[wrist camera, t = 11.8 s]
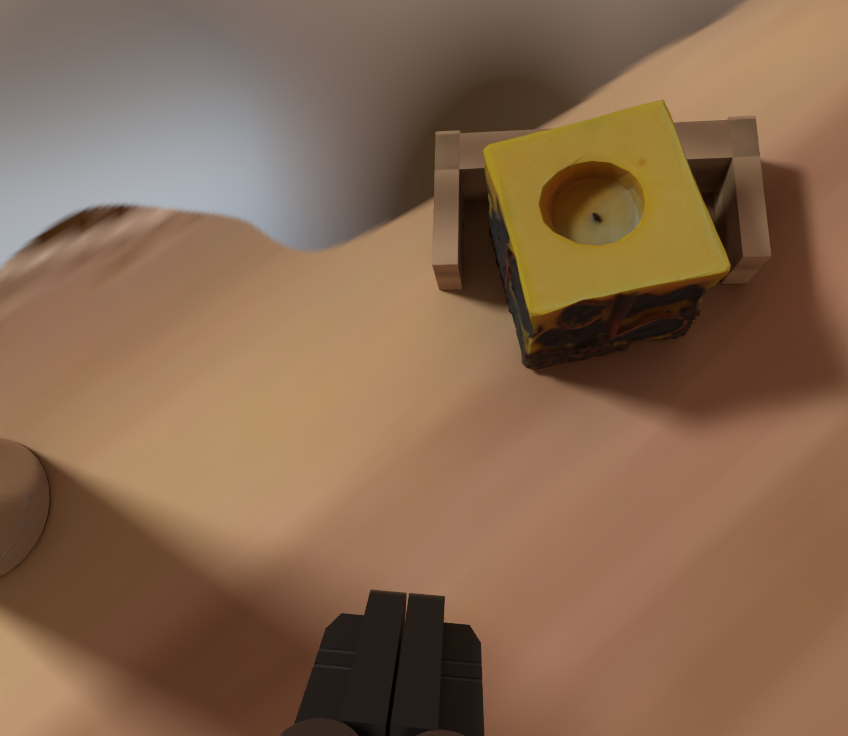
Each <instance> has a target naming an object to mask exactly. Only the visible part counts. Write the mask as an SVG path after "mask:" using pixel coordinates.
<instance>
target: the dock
mask: <svg viewBox="0 0 848 736" xmlns="http://www.w3.org/2000/svg"><path fill="white" fill-rule="evenodd" d="M674 127H675V130H676V133H677V135H678V138H679V140H680V143H681V146H682V148H683V151H684V153H685V156H686V158H687V161H688V164H689V166H690V169H691V171H692V174H693V176H694V179H695V181H696V184H697V186H698V189H699V191H700V193H703V192H713V199H714V210H715V220H716V231H717V234H718V236H719V238H720V240H721V242H722V245H723V247H724V249H725V251H726V254H727V257H728V259H729V262H730V265H731V266H730V271H729V273H728V275H727V276H725V277H724V278H722V279H721V284H743V283H748V282H749V281H750V280H751V278H752V277H753V276H754V275H755V274H756V273H757V272H758V271H759V270H760V268H761V267H762V266H763V265H764V264H765V263H766V262H767V261H768V260H769V258H770V257H771V248H770V240H769V231H768V222H767V213H766V205H765V196H764V187H763V179H762V170H761V161H760V152H759V144H758V135H757V126H756V118H755V116H738V117H728V119H727V120H718V121H698V122H678V123H674ZM545 130H550V129H538V130H520V131H519V130H518V131H498V132H478V133H460V131H442V132H436V143H435V182H434V185H435V186H434V222H433V262H432V265H433V269H434V273H435V276H436V280H437V283H438V287H439V290H453V289H462V274H463V201H488V200H489V199H488V193H489V191H488V190H487V182H486V175H485V169H484V157H483V150H484V149H485V148H486V147H487V146H488V145H489V144H492V143H496V142H500V141H504V140H508V139H512V138H516V137H520V136H525V135H528V134H531V133H535V132H539V131H545Z"/></svg>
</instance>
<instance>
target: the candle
mask: <svg viewBox="0 0 848 736" xmlns="http://www.w3.org/2000/svg"><path fill="white" fill-rule="evenodd" d="M483 157H484V169H485V175H486V182H487V190H488V191H489V193H488V199H489V206H490V211H489V216H488V218H489V220H488V223H489V224H490V225H489V235H490V237H491V238H492V244H493V247H494V251H495V253H496V263H497V266H498V269H499V270H500V278H501V279H502V282H503V287H504V292H505V294H506V299H507V304H508V306H509V312H510V313H511V314H512V316H513V321H514V324H515V327H516V333H517V337H518V340H519V344H520V348H521V352H522V363H523V364H524V365H525V367H526V368H529V369H539V368H543V367H547V366H551V365H556V364H560V363H564V362H574V361H577V360H584V359H588V358H591V357H594V356H599V355H606V354H611V353H615V352H616V351H617V349H619V350H621V351H625V350H626V349H627V348H628V345H629V344H630V343H632V342H634V341H646V340H652V339H658V340H667V339H669V338H677V337H679V336H683V335H685V333H686V332H687V331H688V329H689V328H690V327H691V326H690V324H692V320H695V317H696V316H698V315H699V312H700V306H701V301H702V298H703V297H702V296H703V295H704V294H705V292H706V291H707V290H708V288H710V287H713V286H716V285H717V283H718V282H719V280H721V279H722V278H724V277H725V276H727V275H728V273H729V271H730V266H731V265H730V262H729V259H728V257H727V254H726V251H725V249H724V247H723V245H722V242H721V240H720V238H719V236H718V234H717V231H716V229H715V226H714V224H713V221H712V219H711V216H710V214H709V212H708V209H707V207H706V205H705V203H704V201H703V199H702V196H701V194H700V191H699V189H698V186H697V184H696V181H695V179H694V176H693V174H692V171H691V169H690V166H689V164H688V161H687V158H686V156H685V153H684V151H683V148H682V146H681V143H680V140H679V138H678V135H677V133H676V130H675V127H674V123H673V120H672V117H671V115H670V112H669V110H668V108H667V106H666V104H665V102H664V100H660V101H656V102H651V103H646V104H643V105H639V106H635V107H632V108H628V109H624V110H621V111H617V112H614V113H610V114H607V115H604V116H600V117H597V118H593V119H589V120H586V121H582V122H578V123H574V124H571V125H567V126H562V127H558V128H554V129H550V130H545V131H539V132H535V133H531V134H528V135H525V136H520V137H516V138H512V139H508V140H504V141H500V142H496V143H492V144H489V145H488V146H487V147H486V148H485V149H484V150H483Z"/></svg>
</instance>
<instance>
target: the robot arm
mask: <svg viewBox="0 0 848 736" xmlns="http://www.w3.org/2000/svg"><path fill="white" fill-rule="evenodd" d="M49 500H50V497H49V484H48V481H47V477H46V474H45V471H44V469H43V467H42V465H41V464H40V462H39V460H38V459H37V458H36V457H35V455H34V454H33V453H32V452H31V451H30V450H29V449H27V448H25V447H24V446H22V445H21V444H19V443H17V442H13V441H10V440H7V439H3V438H0V576H2V575H4V574H5V573H7V572H8V571H10V570H12V569H13V568H14V567H16V566H17V565H18V564H19V563H20V562H21V561H22V560H23V559H24V558H25V557H26V556H27V555H28V553H29V552H30V551H31V550H32V548H33V547H34V546H35V544H36V542H37V540H38V539H39V537H40V535H41V533H42V531H43V528H44V525H45V522H46V519H47V515H48V509H49ZM444 603H445V596H437V595H426V594H414V593H409V598H408V605H407V612H406V593H402V592H391V591H380V590H371V591H370V594H369V598H368V602H367V606H366V610H365V614H364V615H354V614H343V613H341V614H340V615H339V616H338V617H337V618H336V619H335V620H334V621H333V622H332V623H331V624H330V625H329V626H328V627H327V628H326V629H325V632H324V635H323V638H322V641H321V645H320V649H319V651H318V654H317V657H316V660H315V663H314V667H313V669H312V672H311V675H310V678H309V681H308V684H307V687H306V690H305V693H304V696H303V699H302V702H301V705H300V708H299V711H298V714H297V717H296V721H295V724H294V725H292V726H290V727H289V728H287V729H286V730H285V731H284V732H283V733H281V734H280V736H484V716H483V688H482V666H481V663H482V661H481V642H480V641H479V639H478V638H477V636H476V634H475V633H474V631H473V630H472V628H471V626H470V625H465V624H454V623H444ZM405 614H406V619H405Z"/></svg>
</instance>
